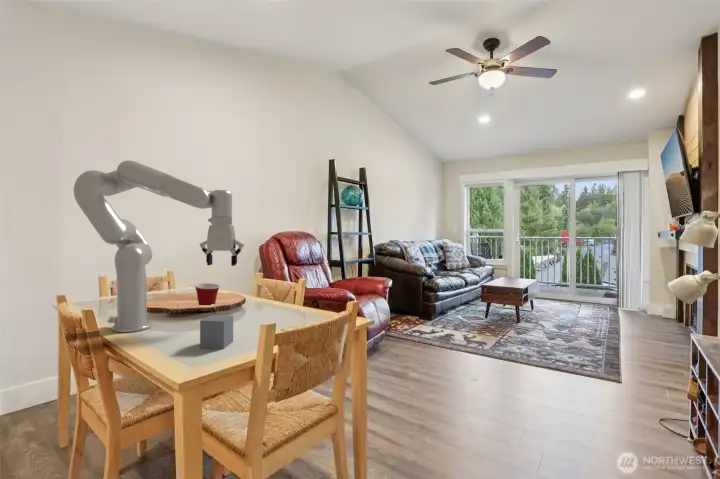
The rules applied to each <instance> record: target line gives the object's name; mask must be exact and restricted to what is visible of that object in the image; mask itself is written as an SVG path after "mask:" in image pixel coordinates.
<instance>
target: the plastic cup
mask: <svg viewBox="0 0 720 479" xmlns="http://www.w3.org/2000/svg"><path fill="white" fill-rule="evenodd" d="M194 287H195V292H196V295H197V297H196V298H197V303H198V306H199V305H211V304H215V305H216V301H217V296H218V292H219V290H220V287H221V285H220V284H218V283H205V282H204V283H196V284H194Z"/></svg>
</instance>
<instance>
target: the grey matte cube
mask: <svg viewBox="0 0 720 479" xmlns="http://www.w3.org/2000/svg"><path fill="white" fill-rule="evenodd" d="M233 342H234V315H230V314H229V315H222V314H220V315H219V314H210V315H208V316H207V317H204V318H202V319H201V320H199V346H200V347H199V348H200V349H216V350H217V349H219V350H221V349H222V350H224V349H226V348H227V347H229V345H231V344H232V343H233Z"/></svg>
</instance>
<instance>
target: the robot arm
mask: <svg viewBox="0 0 720 479" xmlns="http://www.w3.org/2000/svg"><path fill="white" fill-rule="evenodd" d="M135 188H139V189H142V190H145V191H147V192H150V193H152V194H156V195H158V196H162V197H163V198H164V197H165V198H169V199H172V200H175V201H177V202H181V203H183V204H185V205H189V206H191V207H193V208H197V209H201V210H205V209H211V216H210V218H208V223H210V224H209V225H208V230H207V236H206V237H207V238H206V240H205V241H202V242H200V243H199V246H200V249H201V251H202V252H203V253H204V255H205V257H206V258H205V259H206V260H205V262H206V265H207V266H212V265H213V254H212V253H213V252H214V251H215V252H218V251H219V252H220V251H221V252H222V251H223V252H230V253H231V254H232V255H231V258H230V260H231V266H232V267H235V266H236V265H237V264H238V255H239V254H240V253H241V252H242V250H243V248H244V246H245V244H244V243H242V242H240V241H239V240H237V239H236V231H235V228H234V225H233V193H232V191H230V190H226V189H214V190H208V189H205V188H203V187H199V186H197V185H194V184H192V183H190V182H186V181H185V180H181V179H179V178H176V177H174V176H173V175H170V174H168V173H165V172H163V171H161V170H159V169H154V168H152V167H150V166H147V165H145V164H142V163H140V162H137V161H134V160H123V161H122V162H120V163H119V164H118V166H117V168H116V170H113V171H110V172H103V171H100V170H96V169H95V170H93V169H92V170H86V171H84V172H82V173H81V174H80V175H79V176H78V177H77V178H76V180H75V183H74V184H73V197H74V199H75V201H76V203H77V205H78V207H79V208H80V209H81V211H82V212H83V214H84V215H85V216H86V218H87V219H88V221H89V222H90V224H91V225H92V227H93V228H94V230H96V232H97V233H98V235H99V237H100V238H101V239H102V240H103V242H105V244H108V245H115V246H117V248H118V249H117V251H116V253H115V256H114V268H115V273H116V307H117V309H116V314H117V315H116V316H109V318H108V321H107V323H109V324H110V323H114V325H113V326H112V328H111V329H112V331H113V332H115V333H131V332H140V331H145V330H147V329H150V328H151V327H152V325H153V324H152V322H151V321H148V308H147V307H148V306H147V305H148V304H147V302H148V297H147V295H148V294H147V290H148V289H147V270H146V265H148V264H149V263H150V262H151V260H152V259H153V252H152V249H151V247H150V245H149V244H148V242H147V241H146V240H145V238H144V237H143V236H142V234H141V232H139V230H138V228H137V227H136V225H134V223H133V222H131V221H129V220H127V219H123V218H120V216H119V215H118V214H117V213H116V210H114V208H113V207H112V205H111V204H110V203H109V201H107V199H106V198H105V197H109V196H110V197H111V196H114V195H118V194H121V193H123V192H126V191H130V190H132V189H135ZM236 245H237V246H238V247H237V246H236ZM236 247H237V249H236Z"/></svg>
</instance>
